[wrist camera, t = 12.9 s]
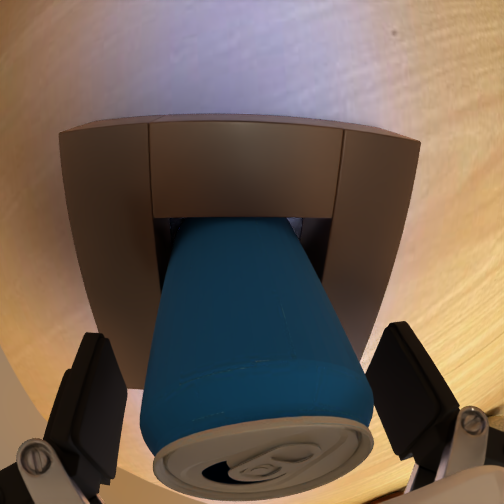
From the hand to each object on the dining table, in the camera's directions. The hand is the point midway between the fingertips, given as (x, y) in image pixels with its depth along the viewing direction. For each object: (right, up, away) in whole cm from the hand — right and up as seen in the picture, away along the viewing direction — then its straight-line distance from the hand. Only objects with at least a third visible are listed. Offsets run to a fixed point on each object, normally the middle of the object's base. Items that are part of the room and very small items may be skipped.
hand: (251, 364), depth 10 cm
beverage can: (-1, +4, +7) cm, 8 cm away
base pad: (-1, +4, +7) cm, 8 cm away
